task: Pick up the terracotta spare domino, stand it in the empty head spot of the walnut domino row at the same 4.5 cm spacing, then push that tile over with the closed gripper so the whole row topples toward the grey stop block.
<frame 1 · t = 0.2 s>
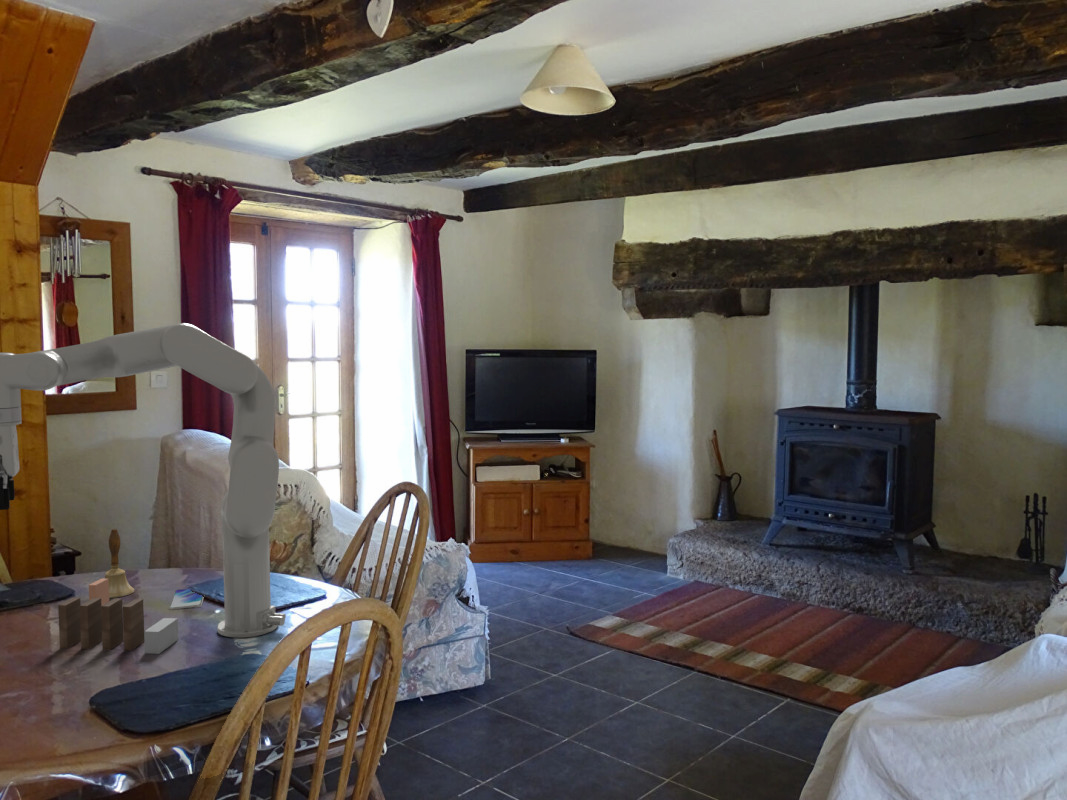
hand: (2, 504, 165), 31 cm above the table, tool pointing down, fingers open, 9 cm apart
domino 4: (113, 645, 175), on the table
domino 5: (134, 645, 175), on the table
smartphone: (188, 601, 206), on the table
spare domino: (100, 621, 189), on the table
hand bell: (115, 594, 210), on the table
domino 3: (92, 644, 175), on the table
domino 2: (71, 643, 176), on the table
stop block: (162, 646, 175), on the table
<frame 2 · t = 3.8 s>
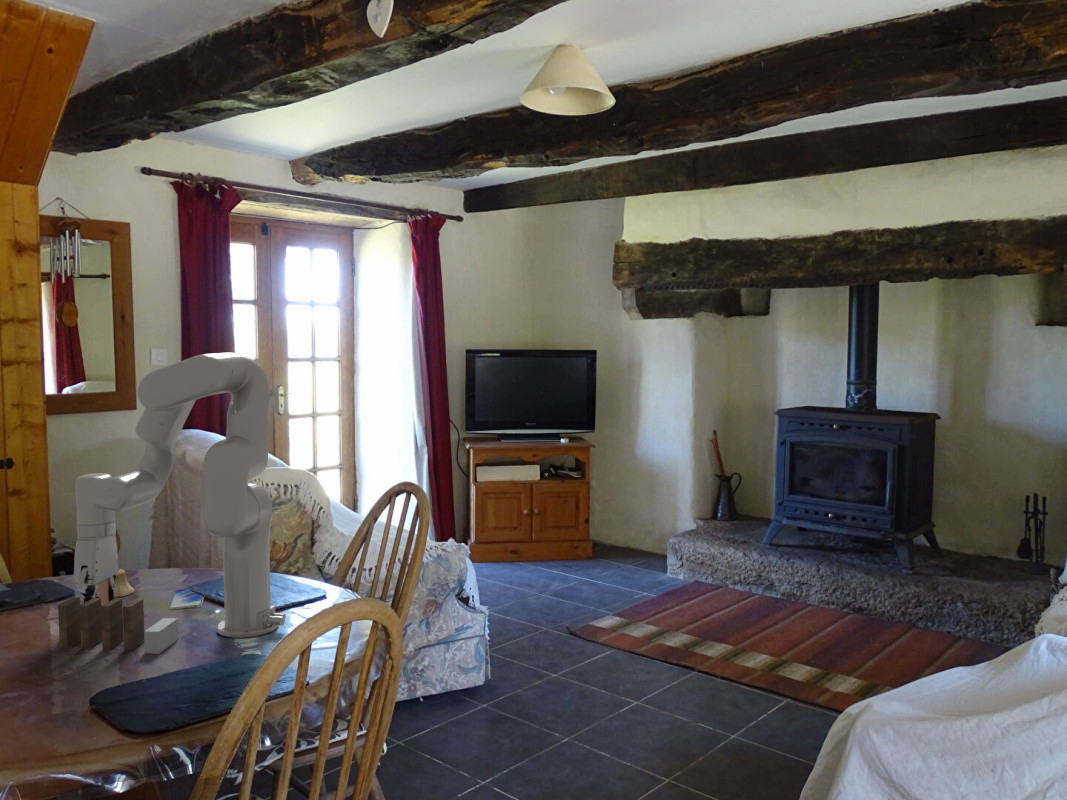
hand: (99, 609, 189), 3 cm above the table, tool pointing down, fingers closed on spare domino, 4 cm apart
spare domino: (99, 621, 189), on the table, touching gripper
everything else where it was.
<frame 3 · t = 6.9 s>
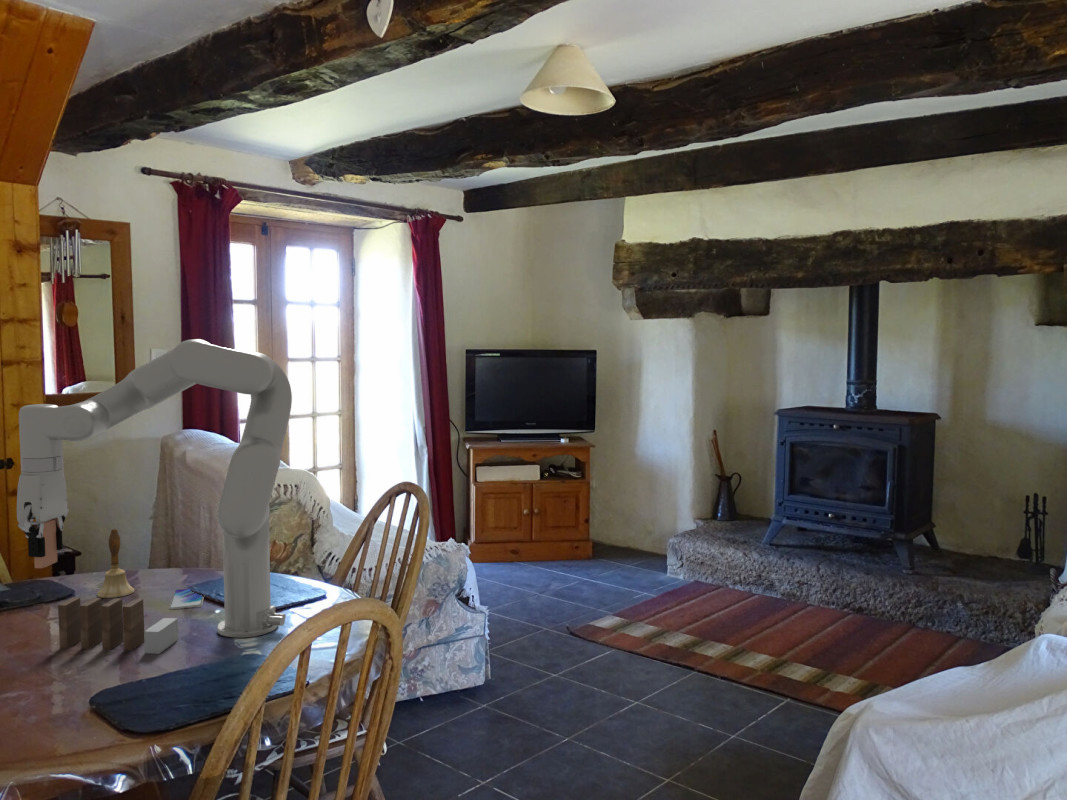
hand: (45, 552, 174), 19 cm above the table, tool pointing down, fingers closed on spare domino, 4 cm apart
spare domino: (46, 564, 175), point 17 cm above the table, touching gripper
everything else where it was.
when the fingers open (4 cm above the table, at t = 10.1 s): spare domino stays where it is, on the table.
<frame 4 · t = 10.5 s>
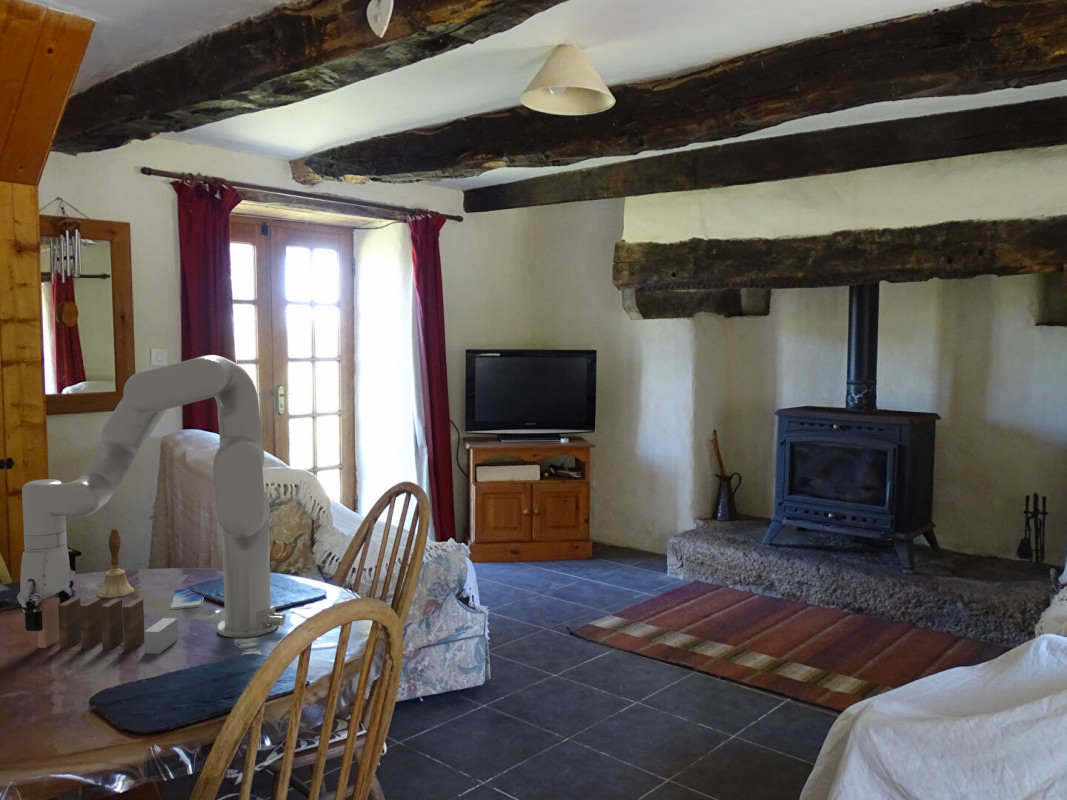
hand: (49, 622, 176), 4 cm above the table, tool pointing down, fingers open, 9 cm apart
spare domino: (49, 643, 176), on the table
everything else where it was.
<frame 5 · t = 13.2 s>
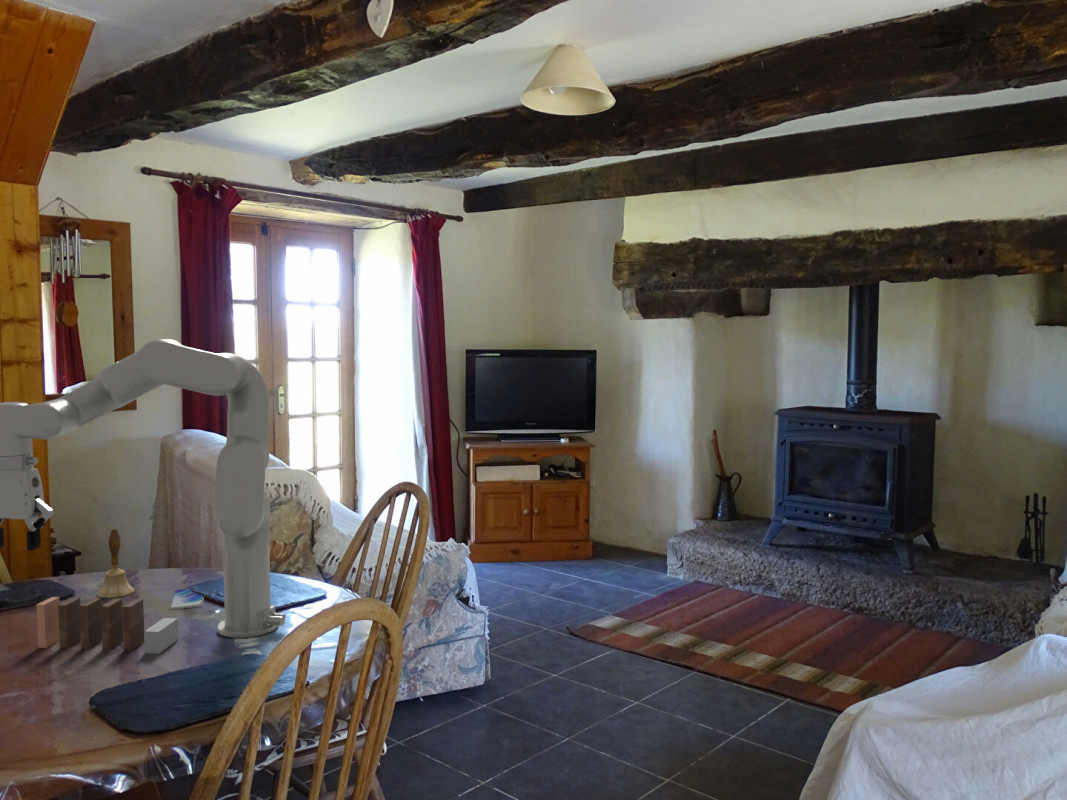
hand: (15, 548, 175), 20 cm above the table, tool pointing down, fingers open, 7 cm apart
nothing on the table moved.
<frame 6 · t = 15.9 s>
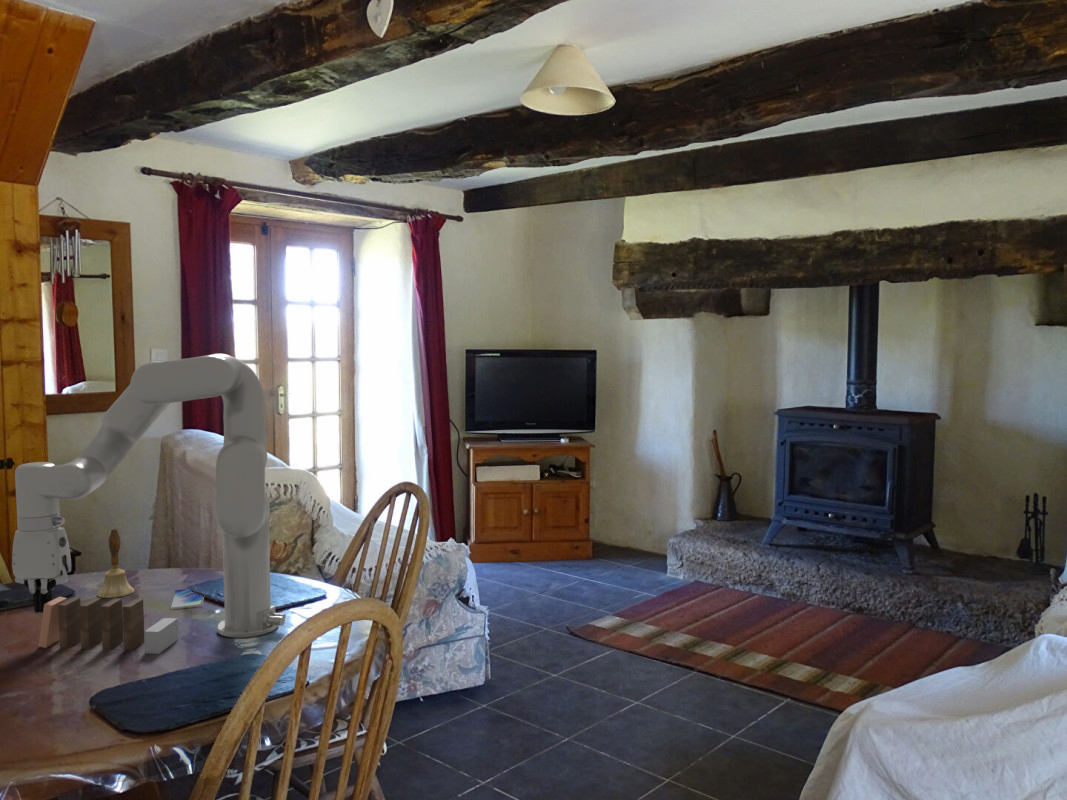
hand: (43, 610, 176), 7 cm above the table, tool pointing down, fingers closed
spare domino: (49, 642, 176), on the table, tilted 10°
everything else where it was.
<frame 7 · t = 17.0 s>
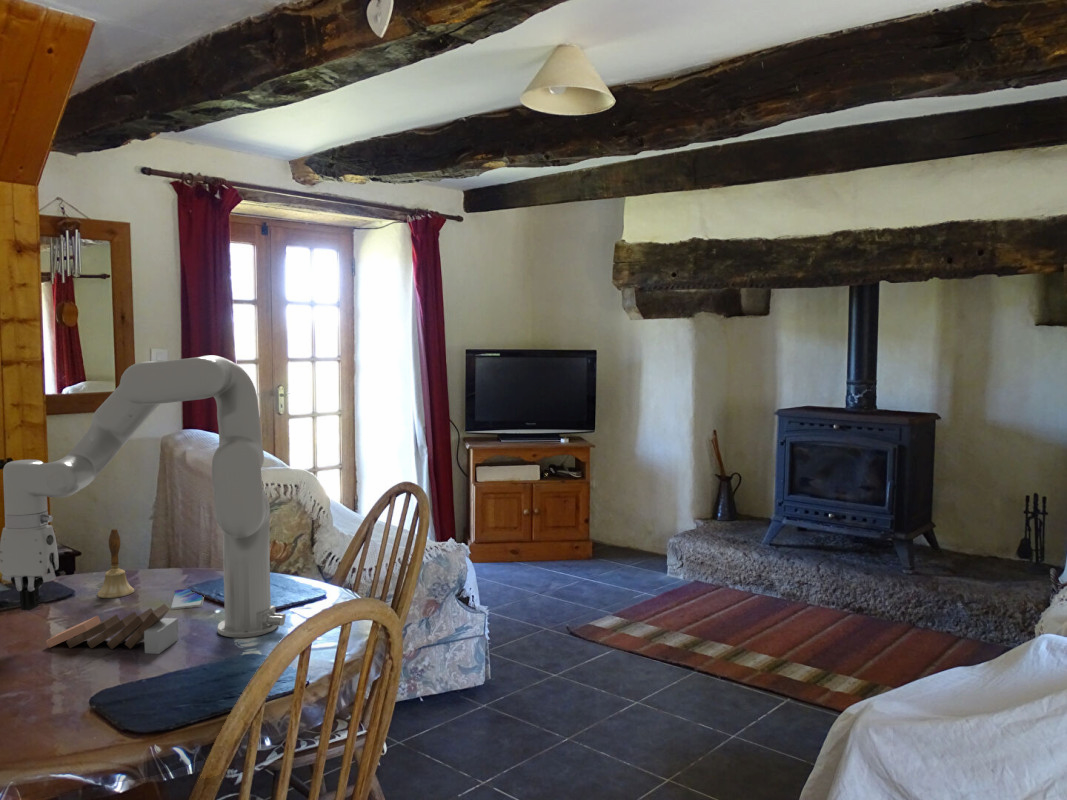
hand: (30, 608, 176), 7 cm above the table, tool pointing down, fingers closed
domino 4: (115, 642, 175), point 1 cm above the table, tilted 49°, touching domino 3, domino 5
domino 5: (133, 641, 175), point 1 cm above the table, tilted 42°, touching domino 4, stop block
spare domino: (55, 640, 176), point 1 cm above the table, tilted 65°, touching domino 2
domino 3: (95, 641, 175), point 1 cm above the table, tilted 57°, touching domino 2, domino 4
domino 2: (75, 640, 176), point 1 cm above the table, tilted 62°, touching domino 3, spare domino
everything else where it was.
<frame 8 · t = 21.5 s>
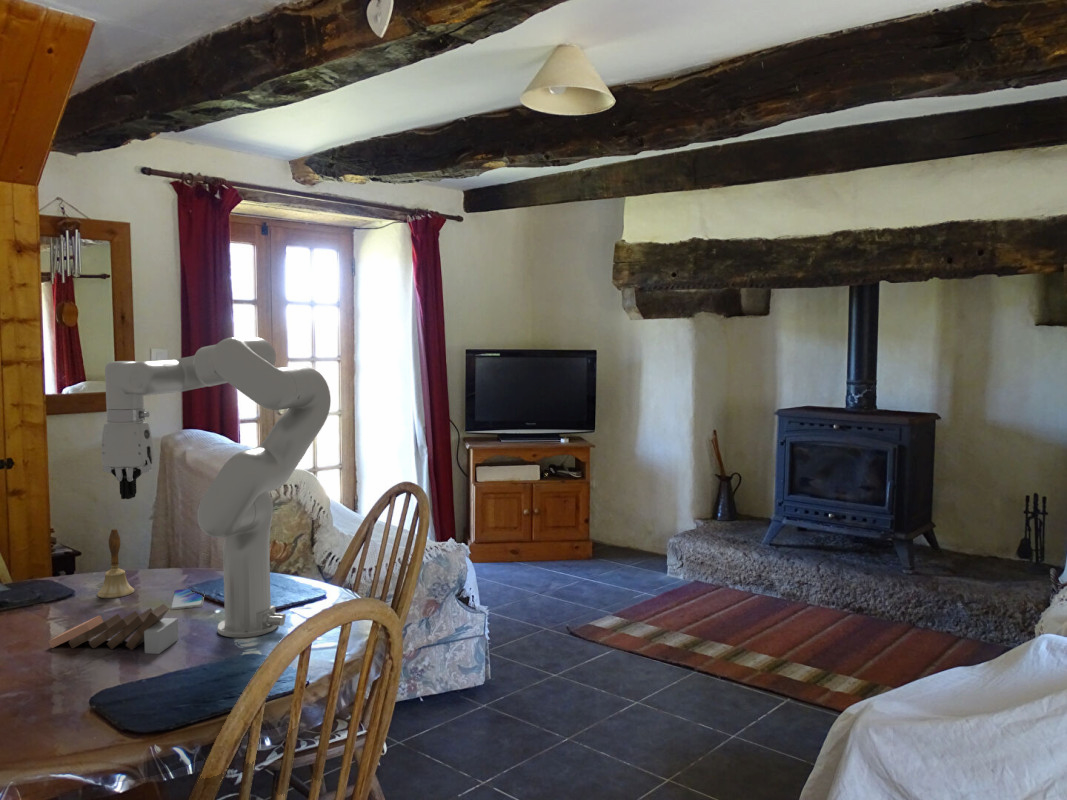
hand: (128, 497, 191), 27 cm above the table, tool pointing down, fingers closed
domino 5: (134, 643, 175), point 1 cm above the table, tilted 38°, touching domino 4, stop block
at the end: spare domino inside the target area (1.4 cm from its centre), point 0.7 cm above the table; spare domino tilted 64°; domino 5 tilted 38° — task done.
